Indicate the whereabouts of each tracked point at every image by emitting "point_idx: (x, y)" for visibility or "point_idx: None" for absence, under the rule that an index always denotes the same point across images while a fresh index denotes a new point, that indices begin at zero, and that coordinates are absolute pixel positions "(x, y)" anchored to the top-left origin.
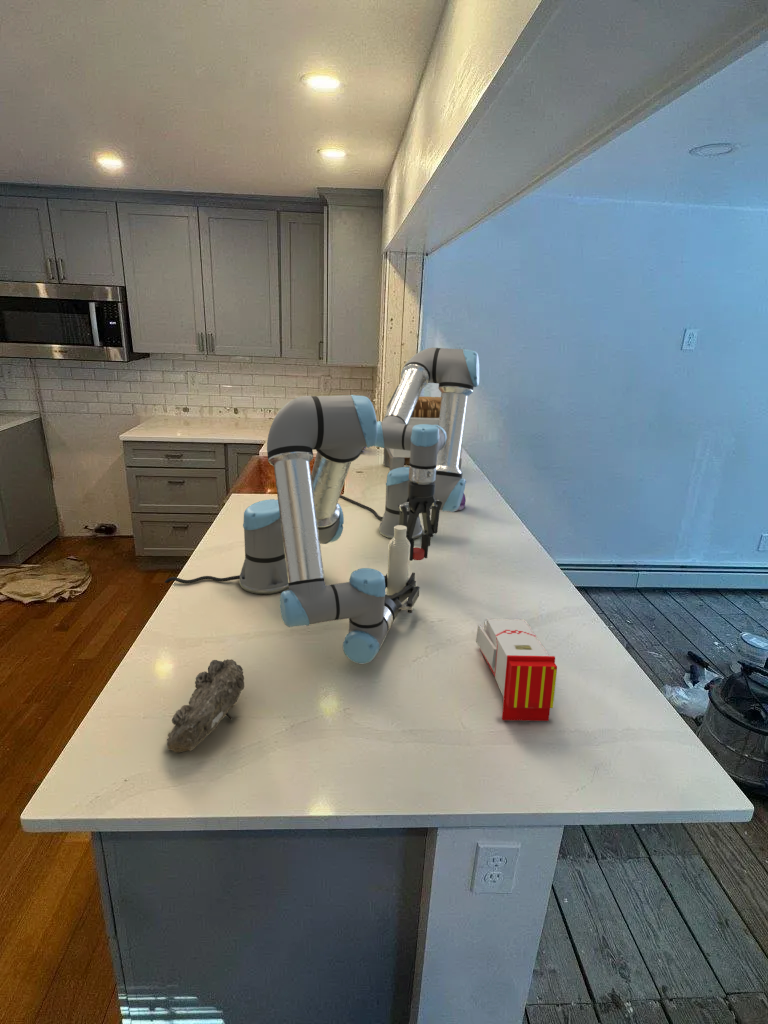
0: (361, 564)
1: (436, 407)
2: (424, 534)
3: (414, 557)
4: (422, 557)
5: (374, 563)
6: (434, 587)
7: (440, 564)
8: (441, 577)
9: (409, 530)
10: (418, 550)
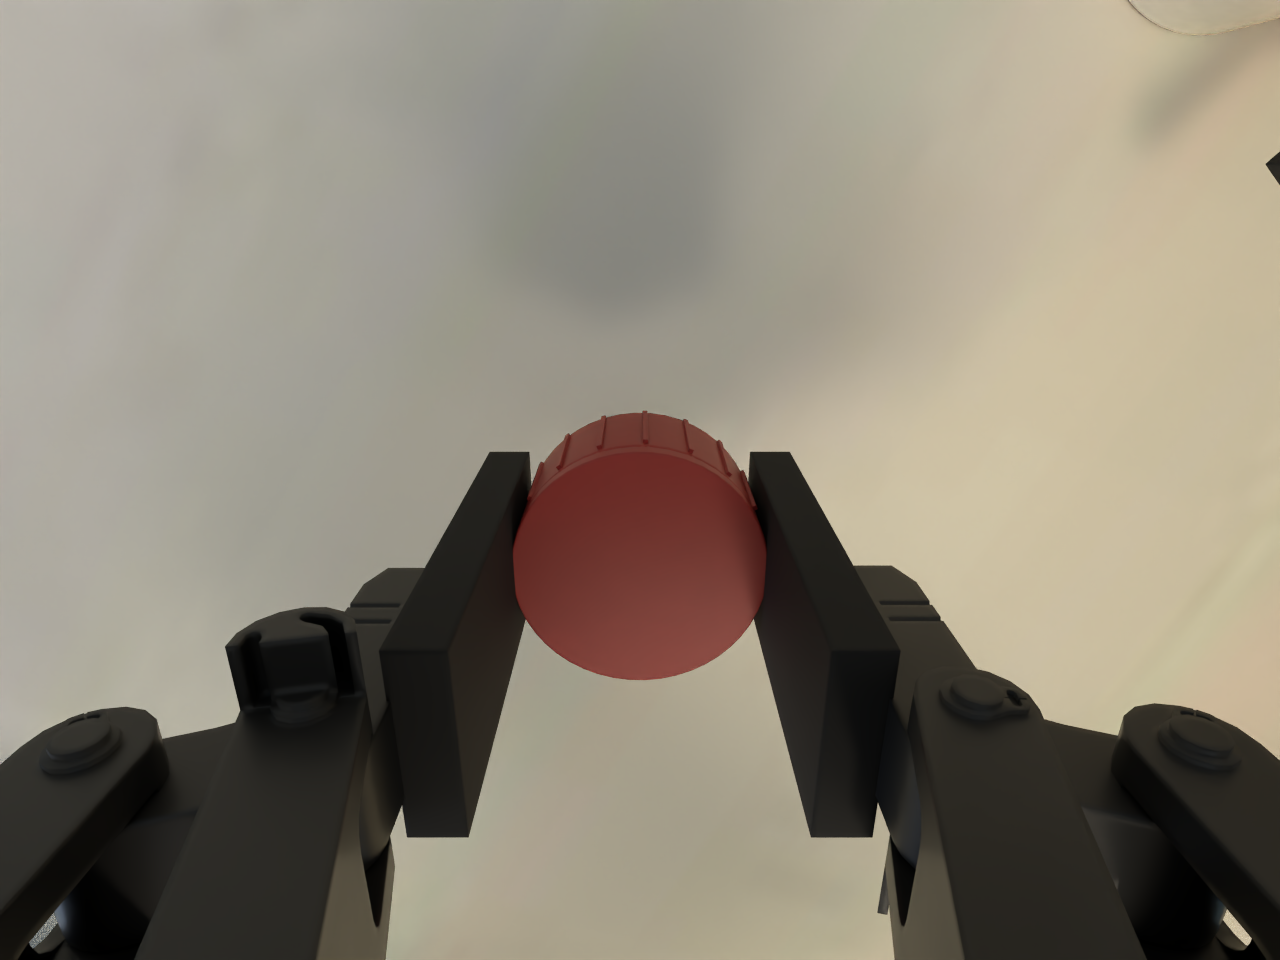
0: None
1: None
2: (405, 818)
3: (730, 464)
4: (601, 426)
5: None
6: (555, 122)
7: (235, 580)
8: (356, 317)
9: (1110, 921)
10: (622, 558)
